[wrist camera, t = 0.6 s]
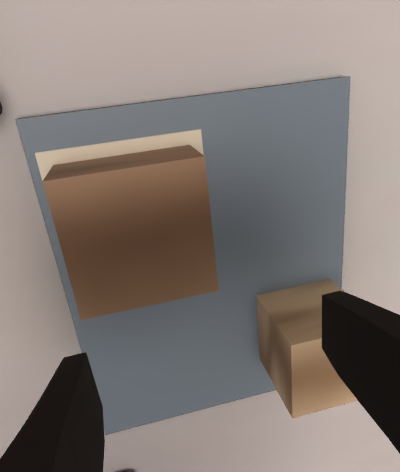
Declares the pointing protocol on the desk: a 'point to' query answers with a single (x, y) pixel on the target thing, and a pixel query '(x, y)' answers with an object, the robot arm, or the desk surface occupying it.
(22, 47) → the desk surface
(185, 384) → the board
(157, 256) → the walnut slab
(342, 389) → the oak cube
